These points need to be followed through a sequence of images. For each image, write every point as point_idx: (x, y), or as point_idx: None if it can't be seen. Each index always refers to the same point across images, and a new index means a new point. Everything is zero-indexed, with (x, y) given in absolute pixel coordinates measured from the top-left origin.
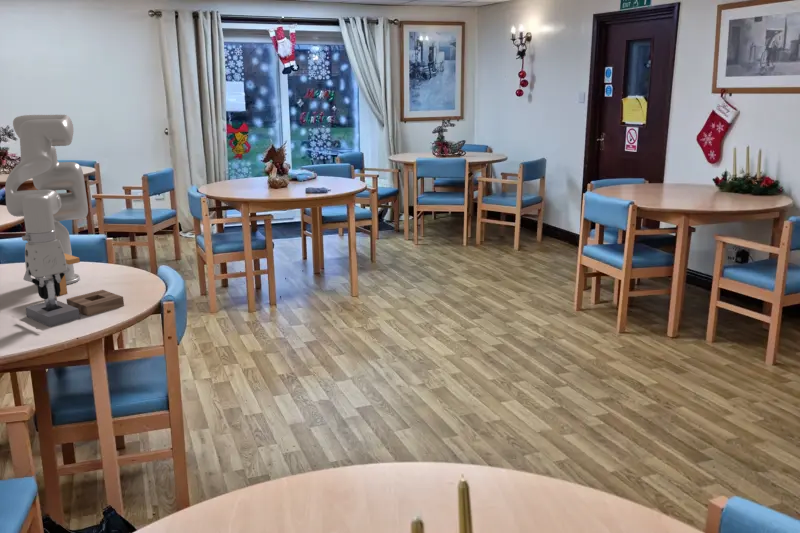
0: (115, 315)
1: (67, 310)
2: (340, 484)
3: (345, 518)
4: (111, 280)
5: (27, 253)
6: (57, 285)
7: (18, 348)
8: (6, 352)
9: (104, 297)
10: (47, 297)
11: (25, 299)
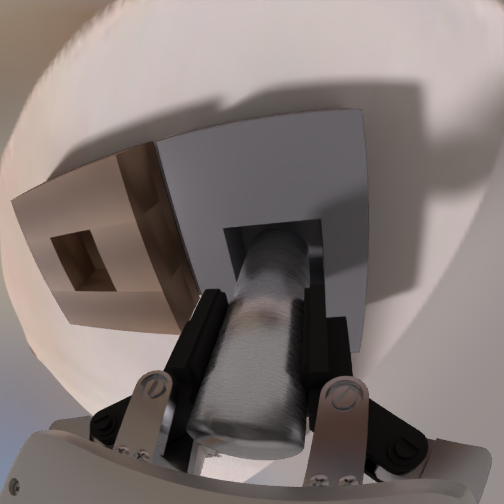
0: (69, 132)
1: (218, 152)
2: None
3: None
4: (95, 390)
5: None
6: (186, 352)
7: (492, 30)
8: None
9: (55, 245)
10: (305, 290)
11: None
